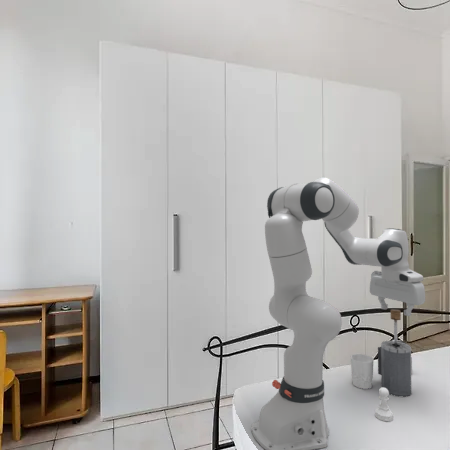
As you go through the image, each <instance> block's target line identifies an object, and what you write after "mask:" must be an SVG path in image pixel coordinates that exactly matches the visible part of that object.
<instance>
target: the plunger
mask: <svg viewBox="0 0 450 450" xmlns="http://www.w3.org/2000/svg"><path fill="white" fill-rule="evenodd" d="M401 314H402V312H401V310H400V309H393V308H392V309H390V320H393V336H394V338H393V340H394V346H395V347H397V340H398V321H400V320H401V318H402V317H401V316H402V315H401Z"/></svg>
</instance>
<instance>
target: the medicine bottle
mask: <svg viewBox="0 0 450 450" xmlns="http://www.w3.org/2000/svg"><path fill="white" fill-rule="evenodd" d="M392 341H394V339H392ZM397 341H398V342H403V343H405V344H407V343H406V342H405V341H403V340H398V339H397ZM412 375H413V358H412V356H411V376H412Z"/></svg>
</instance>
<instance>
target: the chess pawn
mask: <svg viewBox="0 0 450 450" xmlns="http://www.w3.org/2000/svg"><path fill="white" fill-rule="evenodd" d="M378 393H379V396H378V398H379V400H380V403H379V404H378V407H376V408H375V410H374V413H375V414H374V415H375V417H376V418H377V419H378V420H380V421H382V422H392V421H393V420H394V412H393V411H392V410H391V409H390V406H389V405H388V401H389V400H390V398H389V395H390V394H389V391H388V390H387V389H386V388H384V387H380V388H379V390H378Z"/></svg>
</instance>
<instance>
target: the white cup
mask: <svg viewBox="0 0 450 450" xmlns="http://www.w3.org/2000/svg"><path fill="white" fill-rule="evenodd" d="M374 359H375V358H373V357H372V356H370V355H368V354H364V353H363V354H362V353H353V354H351V355H350V369H351V370H350V371H351V381H352V384H353V386H354V387H356V388H359V389H362V388H363V390H368V388H369V389H372V387H373V378H374Z"/></svg>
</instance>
